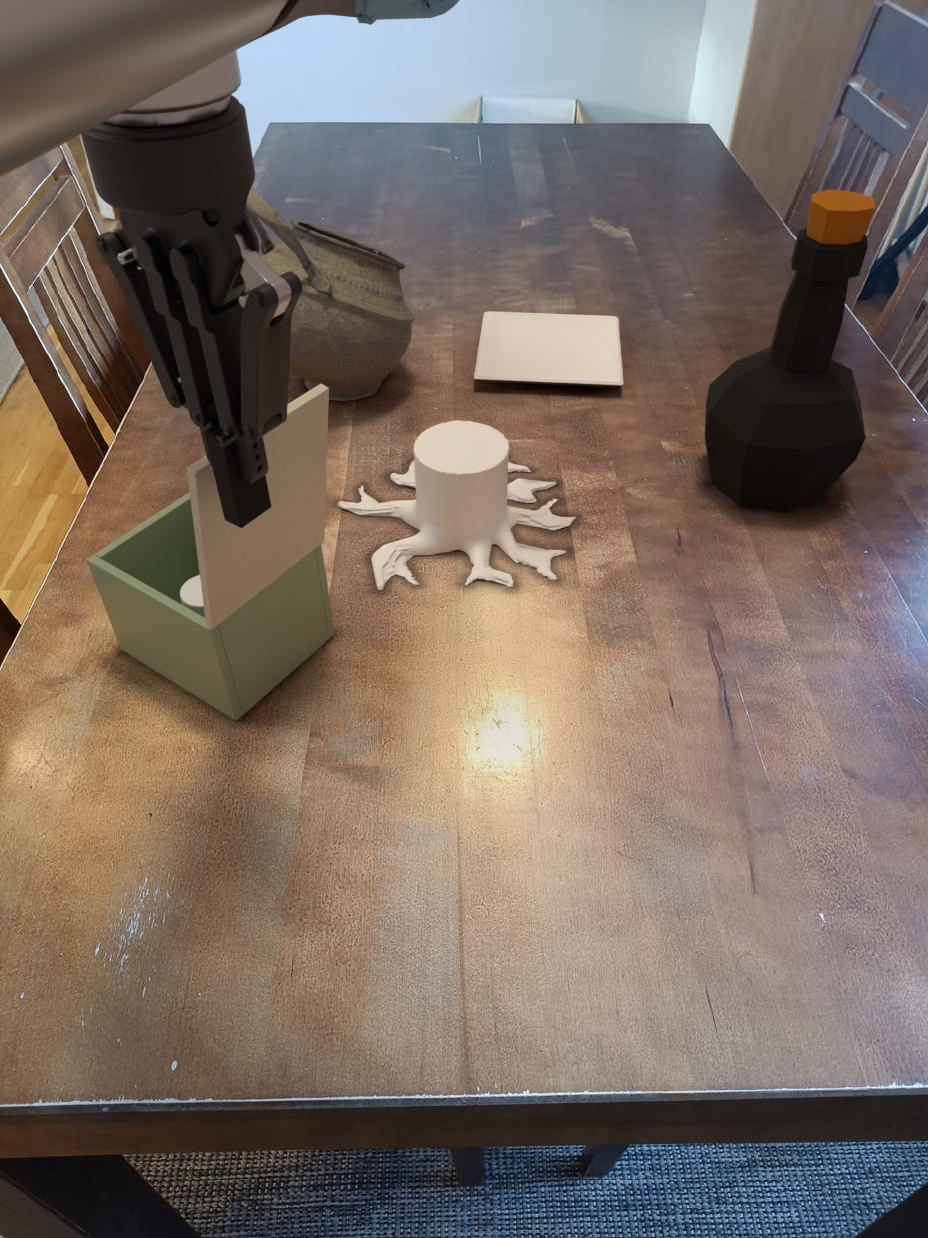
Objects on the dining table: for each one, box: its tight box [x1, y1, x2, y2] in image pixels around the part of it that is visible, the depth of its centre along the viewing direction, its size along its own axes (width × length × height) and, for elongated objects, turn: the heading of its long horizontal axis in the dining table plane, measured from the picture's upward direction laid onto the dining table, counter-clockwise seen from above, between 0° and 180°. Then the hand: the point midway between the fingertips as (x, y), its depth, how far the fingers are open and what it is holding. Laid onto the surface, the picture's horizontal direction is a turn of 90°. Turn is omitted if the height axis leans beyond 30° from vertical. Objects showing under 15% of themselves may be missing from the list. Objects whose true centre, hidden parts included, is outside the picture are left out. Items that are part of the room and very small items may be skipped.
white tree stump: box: [337, 420, 577, 591], centre depth 92 cm, size 23×25×9 cm
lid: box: [186, 384, 330, 628], centre depth 65 cm, size 15×13×1 cm
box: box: [86, 491, 335, 722], centre depth 78 cm, size 15×13×11 cm
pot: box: [246, 189, 416, 402], centre depth 106 cm, size 21×21×25 cm
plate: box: [473, 310, 625, 388], centre depth 119 cm, size 19×19×2 cm
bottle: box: [704, 188, 876, 513], centre depth 89 cm, size 16×16×30 cm
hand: (248, 513), depth 57 cm, fingers closed
